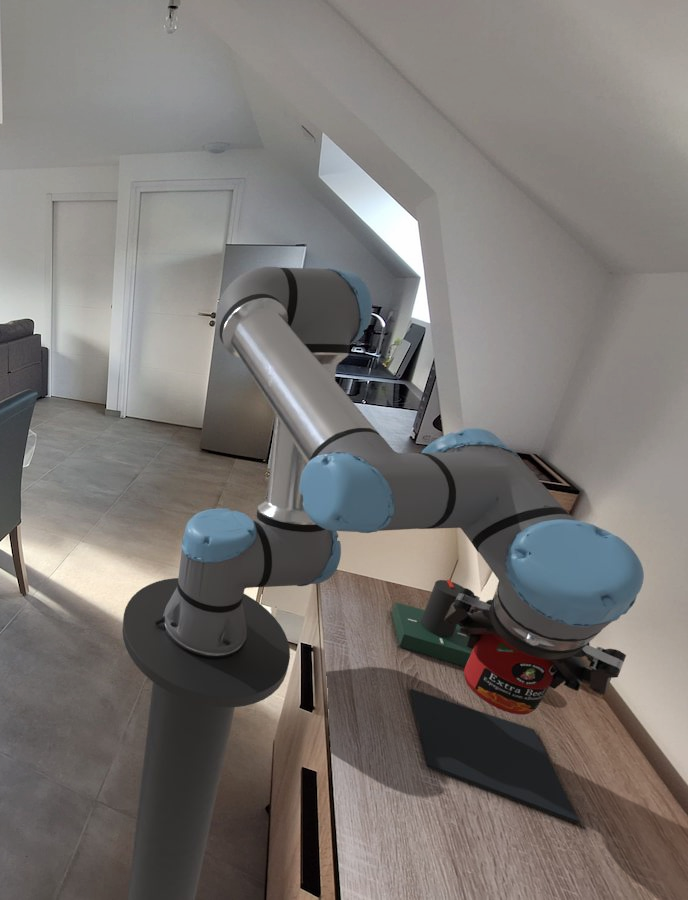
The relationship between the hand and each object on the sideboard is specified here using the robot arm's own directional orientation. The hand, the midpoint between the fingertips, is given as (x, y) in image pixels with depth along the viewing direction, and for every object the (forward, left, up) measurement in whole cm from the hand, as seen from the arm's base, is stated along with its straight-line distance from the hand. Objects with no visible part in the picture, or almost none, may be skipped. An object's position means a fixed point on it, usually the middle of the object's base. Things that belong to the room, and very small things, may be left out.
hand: (512, 657), depth 61 cm
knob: (-1, +22, -13) cm, 26 cm away
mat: (+1, -1, -16) cm, 17 cm away
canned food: (-1, -3, -4) cm, 5 cm away
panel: (-1, +22, -16) cm, 28 cm away
